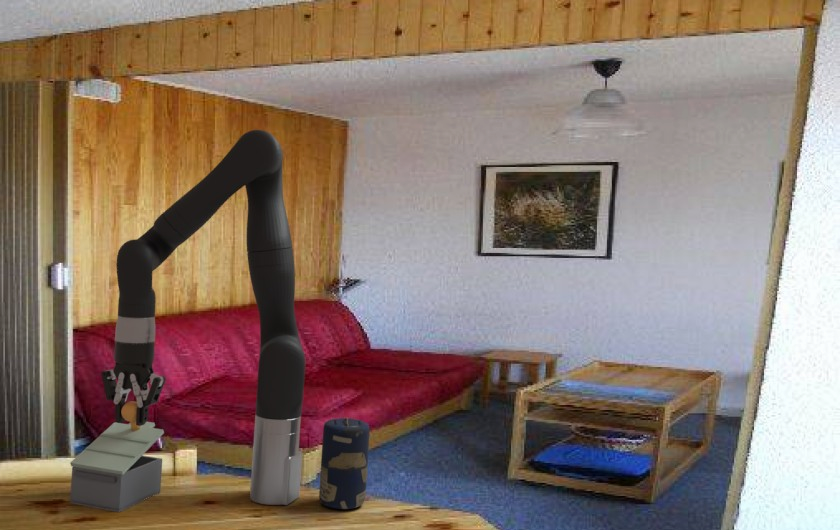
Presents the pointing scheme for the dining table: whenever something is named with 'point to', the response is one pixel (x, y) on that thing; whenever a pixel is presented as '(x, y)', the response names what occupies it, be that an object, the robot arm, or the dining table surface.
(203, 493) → the dining table surface
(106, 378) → the robot arm
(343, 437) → the canister
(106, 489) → the parts tub
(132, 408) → the lid
